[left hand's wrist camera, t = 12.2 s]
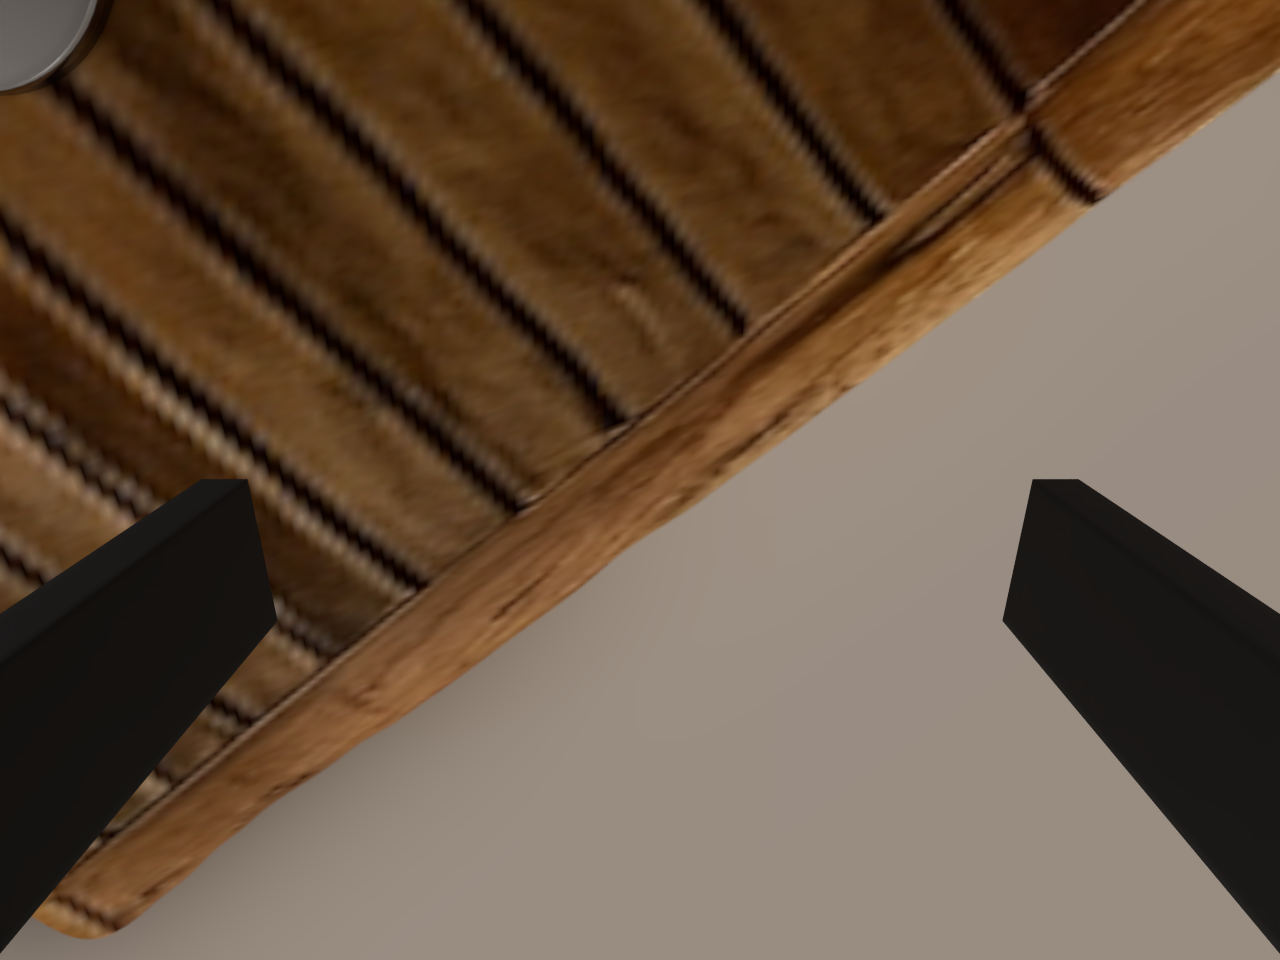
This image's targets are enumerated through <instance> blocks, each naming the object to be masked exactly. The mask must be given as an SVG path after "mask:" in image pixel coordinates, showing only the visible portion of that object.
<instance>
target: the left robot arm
mask: <svg viewBox="0 0 1280 960" xmlns="http://www.w3.org/2000/svg"><path fill="white" fill-rule="evenodd" d="M112 3H113V0H0V96H4V95H16V94H22V93H28V92H31V91H34V90H38V89H41V88H43V87H45V86H48V85H50V84H52V83H54V82H56V81H58V80H59V79H61V78H62V77H64V76H66V75H67V74H68V73H69V72H71V71H72V70H73V69H74V68H76V67H77V66H78V65H79V64H80V63H81V62H82V60H83V59H84V58H85V57H86V56H87V55H88V54H89V52H90V51H91V49H92V48H93V47H94V45H95V44H96V42H97V40H98V38H99V37H100V35H101V33H102V31H103V29H104V27H105V24H106V22H107V19H108V17H109V14H110V10H111V7H112ZM276 622H277V616H276V611H275V607H274V602H273V597H272V593H271V588H270V583H269V579H268V574H267V569H266V565H265V560H264V555H263V551H262V546H261V541H260V537H259V532H258V527H257V522H256V518H255V513H254V508H253V504H252V499H251V494H250V490H249V485H248V480H247V479H201V480H200V481H198V482H197V483H195V484H194V485H192V486H191V487H189V488H188V489H186V490H185V491H183V492H182V493H180V494H179V495H177V496H176V497H174V498H173V499H171V500H170V501H168V502H167V503H165V504H164V505H162V506H161V507H159V508H158V509H156V510H155V511H153V512H152V513H150V514H149V515H147V516H146V517H144V518H143V519H141V520H140V521H138V522H137V523H135V524H134V525H132V526H131V527H129V528H128V529H126V530H125V531H123V532H122V533H120V534H119V535H118V536H116V537H115V538H113V539H112V540H110V541H109V542H107V543H106V544H104V545H103V546H101V547H100V548H98V549H97V550H95V551H94V552H92V553H91V554H89V555H88V556H86V557H85V558H83V559H82V560H80V561H79V562H77V563H76V564H74V565H73V566H71V567H70V568H68V569H67V570H65V571H64V572H62V573H61V574H59V575H58V576H56V577H55V578H53V579H52V580H50V581H49V582H47V583H46V584H44V585H43V586H41V587H40V588H38V589H37V590H35V591H34V592H32V593H31V594H29V595H28V596H26V597H25V598H23V599H22V600H20V601H19V602H17V603H16V604H14V605H13V606H11V607H10V608H8V609H7V610H5V611H4V612H2V613H1V614H0V953H1V952H2V951H3V950H4V948H5V947H6V946H7V945H8V944H9V942H10V941H11V940H12V939H13V938H14V936H15V935H16V934H17V933H18V931H19V930H20V929H21V928H22V927H23V925H24V924H25V923H26V922H27V921H28V920H29V918H30V917H31V916H32V915H33V914H34V912H35V911H36V910H37V909H38V908H39V906H40V905H41V904H42V903H43V902H44V900H45V899H46V898H47V897H48V896H49V894H50V893H51V892H52V891H53V890H54V888H55V887H56V886H57V885H58V884H59V882H60V881H61V880H62V879H63V878H64V876H65V875H66V874H67V873H68V872H69V870H70V869H71V868H72V867H73V866H74V864H75V863H76V862H77V861H78V860H79V858H80V857H81V856H82V855H83V854H84V852H85V851H86V850H87V849H88V848H89V846H90V845H91V844H92V843H93V842H94V840H95V839H96V838H97V837H98V836H99V834H100V833H101V832H102V831H103V830H104V828H105V827H106V826H107V825H108V824H109V822H110V821H111V820H112V819H113V818H114V816H115V815H116V814H117V813H118V812H119V810H120V809H121V808H122V807H123V806H124V804H125V803H126V802H127V801H128V800H129V798H130V797H131V796H132V795H133V794H134V792H135V791H136V790H137V789H138V788H139V786H140V785H141V784H142V783H143V782H144V780H145V779H146V778H147V777H148V776H149V774H150V773H151V772H152V771H153V770H154V768H155V767H156V766H157V765H158V764H159V762H160V761H161V760H162V759H163V758H164V756H165V755H166V754H167V753H168V752H169V750H170V749H171V748H172V747H173V746H174V744H175V743H176V742H177V741H178V740H179V738H180V737H181V736H182V735H183V734H184V732H185V731H186V730H187V729H188V728H189V726H190V725H191V724H192V723H193V722H194V720H195V719H196V718H197V717H198V716H199V714H200V713H201V712H202V711H203V710H204V708H205V707H206V706H207V705H208V704H209V702H210V701H211V700H212V699H213V698H214V696H215V695H216V694H217V693H218V692H219V690H220V689H221V688H222V687H223V686H224V684H225V683H226V682H227V681H228V680H229V678H230V677H231V676H232V675H233V674H234V672H235V671H236V670H237V669H238V668H239V666H240V665H241V664H242V663H243V662H244V660H245V659H246V658H247V657H248V656H249V654H250V653H251V652H252V651H253V650H254V648H255V647H256V646H257V645H258V644H259V642H260V641H261V640H262V639H263V638H264V636H265V635H266V634H267V633H268V632H269V630H270V629H271V628H272V627H273V626H274V624H275V623H276ZM1003 622H1004V623H1005V624H1006V625H1007V627H1008V628H1009V629H1010V630H1011V632H1012V633H1013V634H1014V635H1015V636H1016V638H1017V639H1018V640H1019V641H1020V642H1021V644H1022V645H1023V646H1024V647H1025V648H1026V650H1027V651H1028V652H1029V653H1030V654H1031V655H1032V657H1033V658H1034V659H1035V660H1036V662H1037V663H1038V664H1039V665H1040V666H1041V668H1042V669H1043V670H1044V671H1045V672H1046V674H1047V675H1048V676H1049V677H1050V678H1051V680H1052V681H1053V682H1054V683H1055V684H1056V686H1057V687H1058V688H1059V689H1060V690H1061V691H1062V693H1063V694H1064V695H1065V696H1066V698H1067V699H1068V700H1069V701H1070V702H1071V704H1072V705H1073V706H1074V707H1075V708H1076V710H1077V711H1078V712H1079V713H1080V714H1081V716H1082V717H1083V718H1084V719H1085V720H1086V722H1087V723H1088V724H1089V725H1090V726H1091V728H1092V729H1093V730H1094V731H1095V732H1096V734H1097V735H1098V736H1099V737H1100V738H1101V740H1102V741H1103V742H1104V743H1105V744H1106V746H1107V747H1108V748H1109V749H1110V750H1111V752H1112V753H1113V754H1114V755H1115V756H1116V758H1117V759H1118V760H1119V761H1120V762H1121V764H1122V765H1123V766H1124V767H1125V768H1126V770H1127V771H1128V772H1129V773H1130V774H1131V776H1132V777H1133V778H1134V779H1135V780H1136V782H1137V783H1138V784H1139V785H1140V786H1141V788H1142V789H1143V790H1144V791H1145V792H1146V794H1147V795H1148V796H1149V797H1150V798H1151V799H1152V801H1153V802H1154V803H1155V804H1156V806H1157V807H1158V808H1159V809H1160V810H1161V812H1162V813H1163V814H1164V815H1165V816H1166V818H1167V819H1168V820H1169V821H1170V822H1171V824H1172V825H1173V826H1174V827H1175V828H1176V830H1177V831H1178V832H1179V833H1180V834H1181V836H1182V837H1183V838H1184V839H1185V840H1186V842H1187V843H1188V844H1189V845H1190V846H1191V848H1192V849H1193V850H1194V851H1195V852H1196V854H1197V855H1198V856H1199V857H1200V858H1201V860H1202V861H1203V862H1204V863H1205V864H1206V866H1207V867H1208V868H1209V869H1210V870H1211V872H1212V873H1213V874H1214V875H1215V876H1216V878H1217V879H1218V880H1219V881H1220V882H1221V884H1222V885H1223V886H1224V887H1225V888H1226V890H1227V891H1228V892H1229V893H1230V894H1231V896H1232V897H1233V898H1234V899H1235V900H1236V902H1237V903H1238V904H1239V905H1240V906H1241V908H1242V909H1243V910H1244V911H1245V912H1246V914H1247V915H1248V916H1249V917H1250V918H1251V920H1252V921H1253V922H1254V923H1255V924H1256V925H1257V927H1258V928H1259V929H1260V930H1261V932H1262V933H1263V934H1264V935H1265V936H1266V938H1267V939H1268V940H1269V941H1270V942H1271V944H1272V945H1273V946H1274V947H1275V948H1276V950H1277V951H1278V952H1279V953H1280V614H1279V613H1278V612H1276V611H1275V610H1273V609H1272V608H1270V607H1269V606H1267V605H1266V604H1264V603H1263V602H1261V601H1260V600H1258V599H1257V598H1255V597H1254V596H1252V595H1251V594H1249V593H1248V592H1246V591H1245V590H1243V589H1242V588H1240V587H1239V586H1237V585H1236V584H1234V583H1233V582H1231V581H1230V580H1228V579H1227V578H1225V577H1224V576H1222V575H1221V574H1219V573H1218V572H1216V571H1215V570H1213V569H1212V568H1210V567H1209V566H1207V565H1206V564H1204V563H1203V562H1201V561H1200V560H1198V559H1197V558H1195V557H1194V556H1192V555H1191V554H1189V553H1188V552H1186V551H1185V550H1183V549H1182V548H1180V547H1179V546H1177V545H1176V544H1174V543H1173V542H1171V541H1170V540H1168V539H1167V538H1165V537H1164V536H1162V535H1161V534H1160V533H1158V532H1157V531H1155V530H1153V529H1152V528H1150V527H1149V526H1148V525H1146V524H1144V523H1143V522H1142V521H1140V520H1139V519H1137V518H1136V517H1134V516H1133V515H1131V514H1130V513H1128V512H1127V511H1125V510H1124V509H1122V508H1121V507H1119V506H1118V505H1116V504H1115V503H1113V502H1112V501H1110V500H1109V499H1107V498H1106V497H1104V496H1103V495H1101V494H1100V493H1098V492H1097V491H1095V490H1094V489H1092V488H1091V487H1089V486H1088V485H1086V484H1085V483H1083V482H1082V481H1080V480H1079V479H1033V481H1032V485H1031V490H1030V494H1029V499H1028V504H1027V508H1026V513H1025V518H1024V523H1023V527H1022V532H1021V537H1020V541H1019V546H1018V551H1017V555H1016V560H1015V565H1014V569H1013V574H1012V579H1011V583H1010V588H1009V593H1008V597H1007V602H1006V607H1005V612H1004V616H1003Z"/></svg>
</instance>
